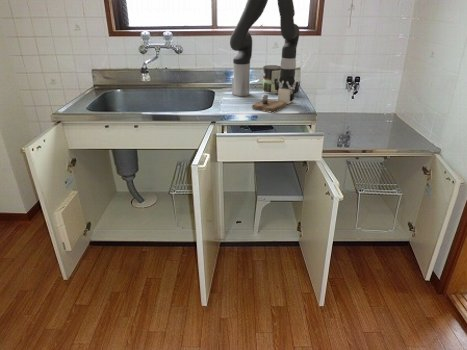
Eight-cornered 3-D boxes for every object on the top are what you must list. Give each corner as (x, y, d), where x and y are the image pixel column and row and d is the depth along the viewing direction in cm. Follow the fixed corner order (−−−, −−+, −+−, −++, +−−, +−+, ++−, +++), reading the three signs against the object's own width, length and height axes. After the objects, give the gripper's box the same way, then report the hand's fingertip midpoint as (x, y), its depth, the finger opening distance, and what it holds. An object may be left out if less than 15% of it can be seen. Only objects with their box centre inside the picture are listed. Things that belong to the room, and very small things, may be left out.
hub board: (252, 108, 174) (252, 104, 173) (265, 102, 183) (265, 98, 182) (273, 112, 167) (273, 108, 166) (285, 106, 177) (286, 102, 176)
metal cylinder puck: (261, 103, 174) (261, 95, 172) (264, 102, 176) (264, 94, 174) (265, 104, 173) (266, 96, 171) (268, 103, 175) (268, 95, 173)
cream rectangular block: (277, 102, 182) (278, 87, 178) (283, 99, 186) (284, 85, 182) (287, 104, 179) (289, 89, 175) (293, 101, 183) (294, 86, 179)
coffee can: (261, 93, 199) (262, 68, 193) (263, 89, 208) (263, 64, 202) (279, 94, 198) (281, 68, 191) (280, 89, 207) (281, 65, 200)
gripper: (271, 66, 175) (270, 99, 183) (297, 69, 167) (294, 103, 175) (279, 64, 180) (277, 96, 188) (304, 67, 173) (301, 100, 181)
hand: (285, 99), depth 182 cm, fingers closed on cream rectangular block, 6 cm apart
